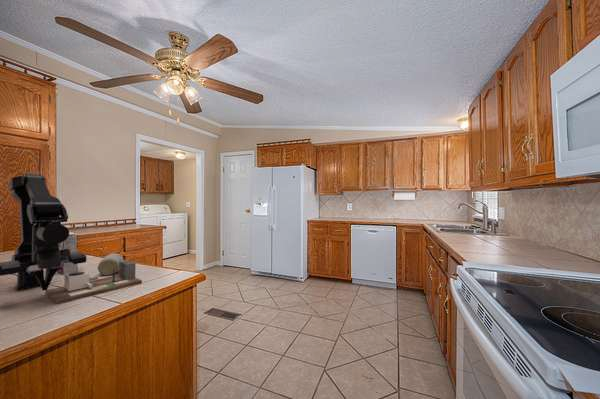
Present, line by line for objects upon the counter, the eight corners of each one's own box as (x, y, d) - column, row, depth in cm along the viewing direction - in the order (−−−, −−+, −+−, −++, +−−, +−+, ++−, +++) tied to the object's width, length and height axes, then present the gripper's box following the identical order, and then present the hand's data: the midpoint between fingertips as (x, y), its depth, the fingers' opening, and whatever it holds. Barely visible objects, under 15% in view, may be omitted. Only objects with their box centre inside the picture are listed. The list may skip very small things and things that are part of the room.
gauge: (64, 287, 81) (64, 273, 81) (94, 280, 88) (94, 268, 88) (72, 294, 76) (72, 279, 76) (103, 286, 82) (104, 273, 82)
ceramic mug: (96, 277, 96) (96, 258, 96) (102, 271, 103) (103, 253, 103) (128, 274, 100) (128, 256, 100) (132, 269, 108) (132, 252, 108)
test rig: (45, 293, 79) (45, 272, 79) (126, 275, 98) (126, 258, 98) (55, 304, 71) (55, 280, 71) (141, 283, 90) (142, 264, 90)
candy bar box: (53, 270, 104) (54, 232, 104) (69, 267, 108) (69, 231, 108) (61, 275, 98) (62, 234, 98) (78, 272, 102) (78, 233, 102)
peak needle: (112, 282, 85) (112, 269, 85) (114, 281, 85) (114, 268, 85) (113, 282, 84) (113, 269, 84) (115, 282, 85) (115, 269, 85)
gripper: (1, 248, 63) (0, 307, 63) (92, 239, 79) (91, 287, 79) (-4, 243, 70) (-5, 297, 70) (81, 236, 85) (80, 280, 85)
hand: (44, 290), depth 75 cm, fingers closed
